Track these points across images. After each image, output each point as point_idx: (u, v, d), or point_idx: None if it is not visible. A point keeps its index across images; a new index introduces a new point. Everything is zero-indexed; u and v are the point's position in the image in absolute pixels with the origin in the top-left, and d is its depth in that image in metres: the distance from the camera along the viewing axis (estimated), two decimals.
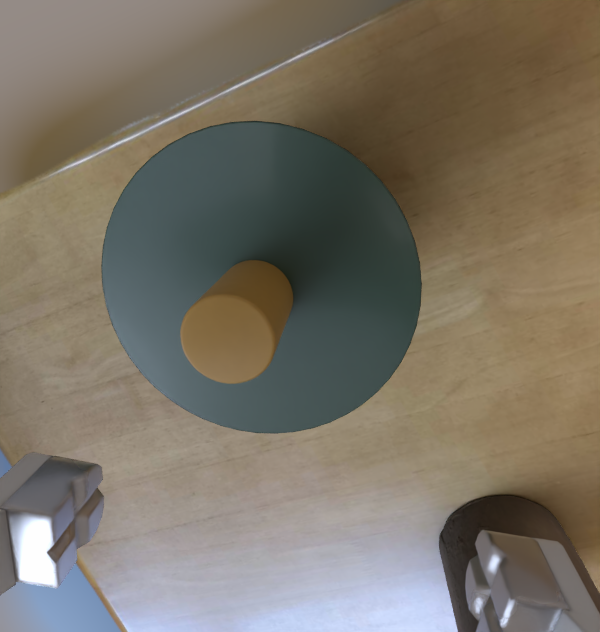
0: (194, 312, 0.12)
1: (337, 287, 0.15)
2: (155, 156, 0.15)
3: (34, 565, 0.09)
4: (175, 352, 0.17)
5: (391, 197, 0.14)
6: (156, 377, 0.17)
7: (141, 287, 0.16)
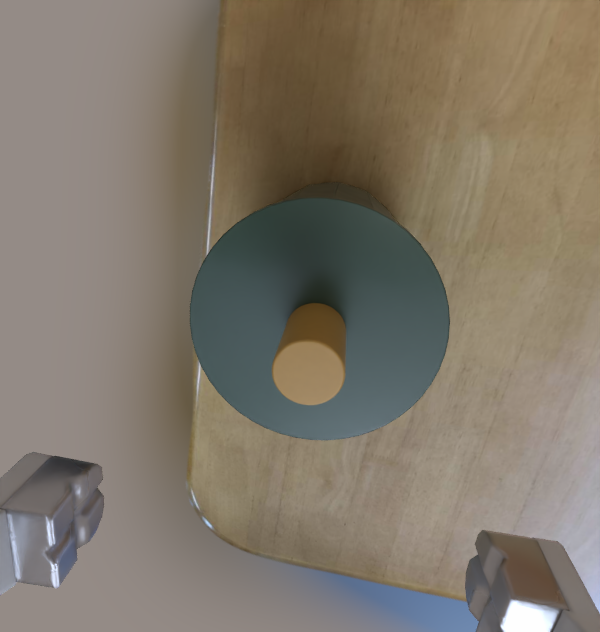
0: (277, 380, 0.16)
1: (342, 272, 0.19)
2: (192, 334, 0.20)
3: (34, 565, 0.09)
4: (324, 408, 0.21)
5: (299, 200, 0.18)
6: (334, 432, 0.21)
7: (267, 398, 0.21)
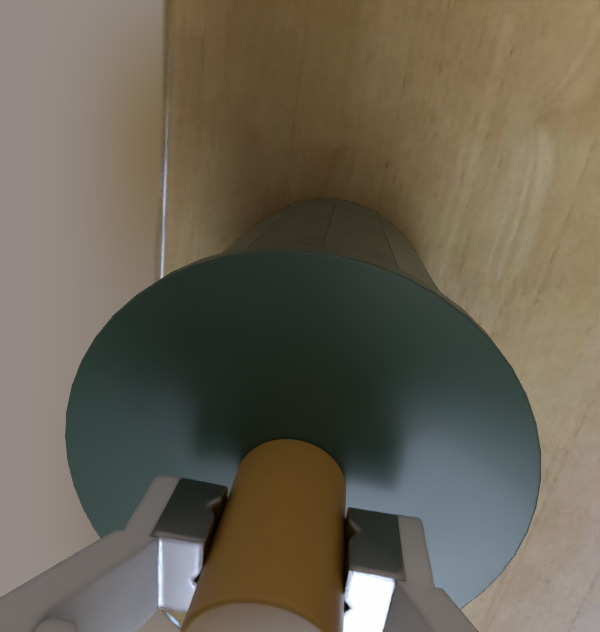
0: None
1: (339, 387, 0.10)
2: (73, 481, 0.12)
3: (178, 592, 0.08)
4: None
5: (253, 254, 0.09)
6: None
7: None
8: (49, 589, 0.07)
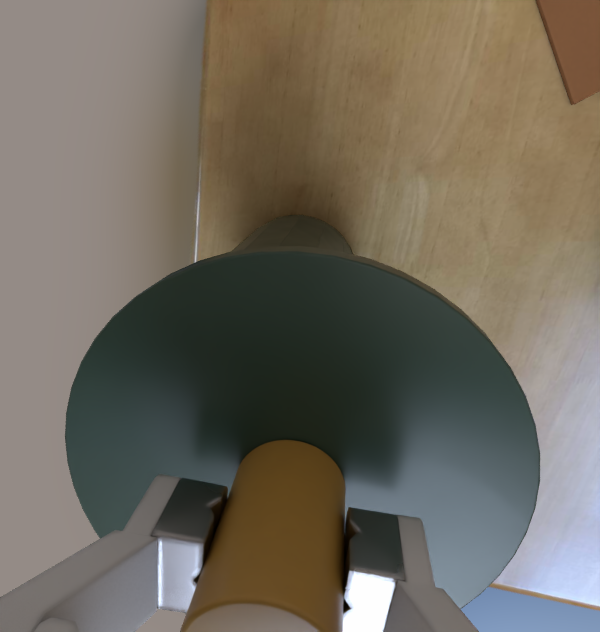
0: None
1: (339, 388, 0.10)
2: (73, 482, 0.12)
3: (178, 592, 0.08)
4: None
5: (253, 255, 0.09)
6: None
7: None
8: (49, 589, 0.07)
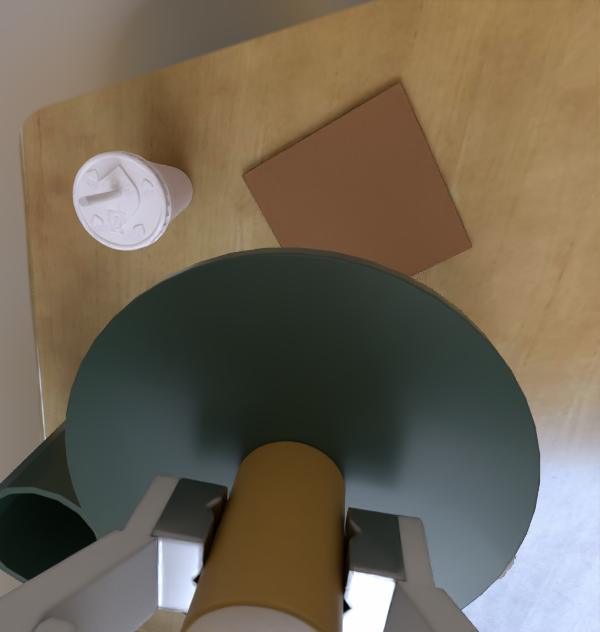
0: None
1: (338, 389, 0.10)
2: (73, 483, 0.12)
3: (178, 592, 0.08)
4: None
5: (252, 256, 0.09)
6: None
7: None
8: (49, 589, 0.07)
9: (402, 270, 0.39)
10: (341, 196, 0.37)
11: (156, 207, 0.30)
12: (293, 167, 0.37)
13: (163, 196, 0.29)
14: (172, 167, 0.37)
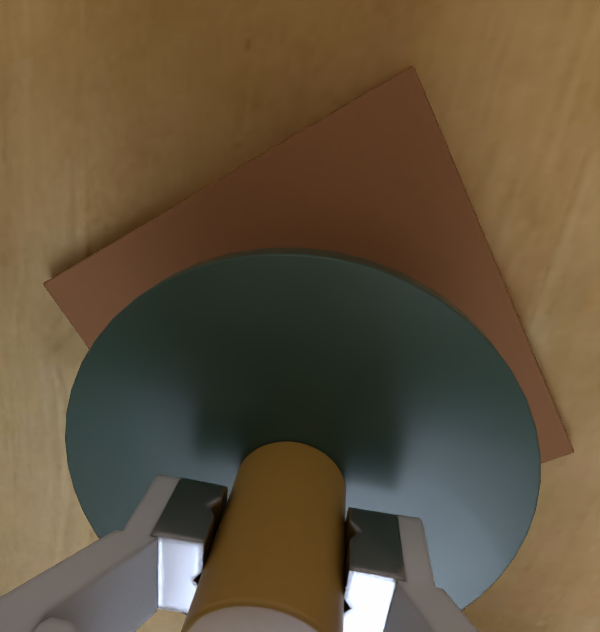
0: None
1: (339, 389, 0.10)
2: (73, 483, 0.12)
3: (178, 592, 0.08)
4: None
5: (253, 256, 0.09)
6: None
7: None
8: (49, 589, 0.07)
9: None
10: None
11: None
12: (156, 269, 0.15)
13: None
14: None
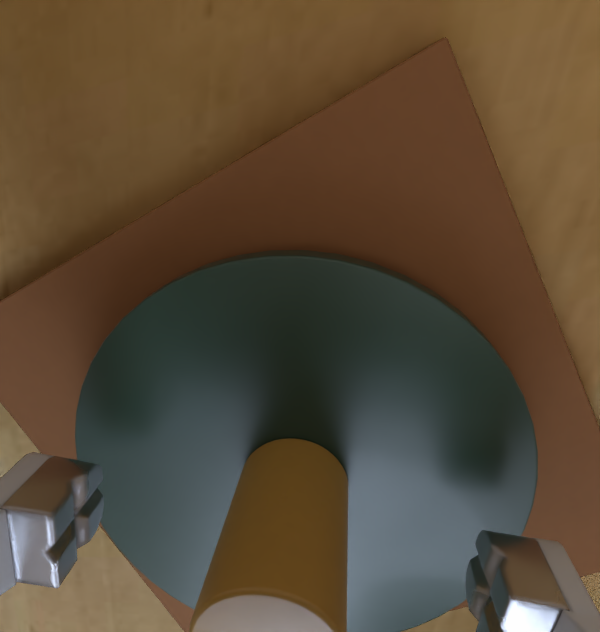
0: None
1: (342, 388, 0.10)
2: None
3: (34, 565, 0.09)
4: None
5: (259, 259, 0.09)
6: None
7: None
8: None
9: None
10: None
11: None
12: (93, 316, 0.12)
13: None
14: None
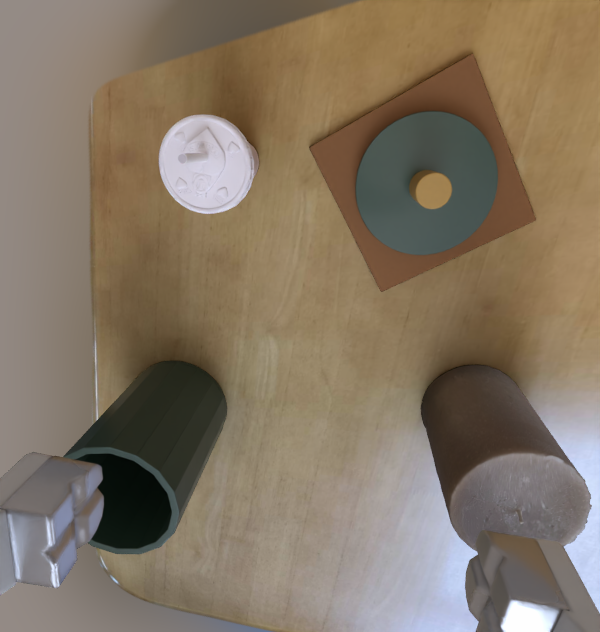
0: (418, 195, 0.33)
1: (442, 152, 0.36)
2: (356, 191, 0.38)
3: (34, 565, 0.09)
4: (426, 234, 0.38)
5: (422, 112, 0.35)
6: (431, 249, 0.39)
7: (394, 229, 0.38)
8: None
9: (464, 243, 0.39)
10: None
11: (241, 170, 0.30)
12: (361, 138, 0.37)
13: (249, 159, 0.30)
14: None
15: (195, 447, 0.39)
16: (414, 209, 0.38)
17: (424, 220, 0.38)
